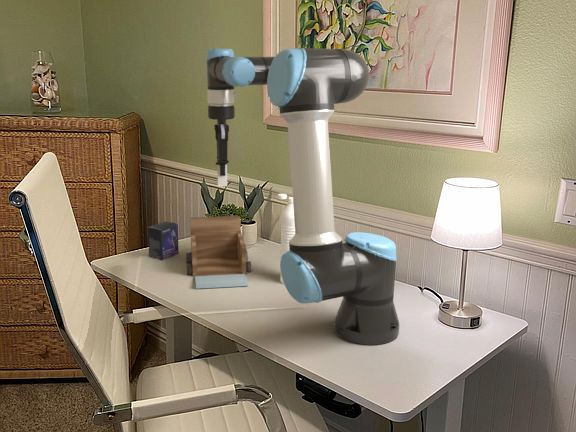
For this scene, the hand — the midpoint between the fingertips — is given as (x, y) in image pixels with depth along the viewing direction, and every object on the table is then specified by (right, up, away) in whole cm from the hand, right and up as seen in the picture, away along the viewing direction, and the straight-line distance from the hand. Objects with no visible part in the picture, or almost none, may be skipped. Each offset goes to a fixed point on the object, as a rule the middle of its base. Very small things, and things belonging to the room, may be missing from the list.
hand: (222, 185), depth 182 cm
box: (-19, -22, +11) cm, 32 cm away
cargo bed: (-2, -24, +4) cm, 25 cm away
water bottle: (+20, -28, -8) cm, 35 cm away
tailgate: (0, -26, -7) cm, 27 cm away
